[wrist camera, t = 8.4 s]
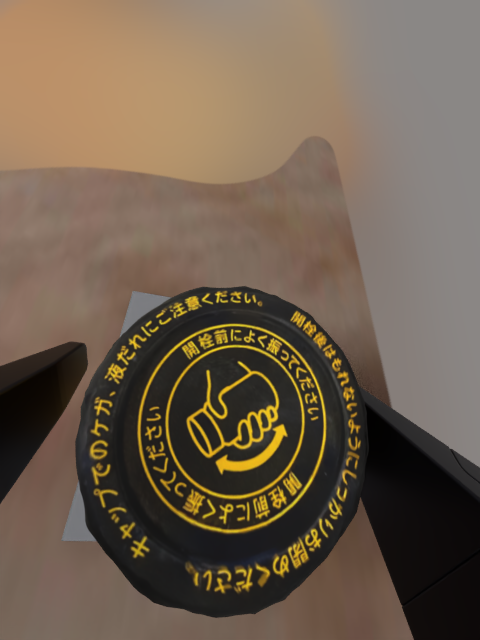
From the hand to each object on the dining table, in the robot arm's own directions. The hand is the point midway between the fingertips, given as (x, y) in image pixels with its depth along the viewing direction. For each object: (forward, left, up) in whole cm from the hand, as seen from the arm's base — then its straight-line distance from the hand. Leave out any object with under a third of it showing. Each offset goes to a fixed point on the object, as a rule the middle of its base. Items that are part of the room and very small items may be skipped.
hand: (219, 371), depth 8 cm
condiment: (-2, +1, -8) cm, 8 cm away
